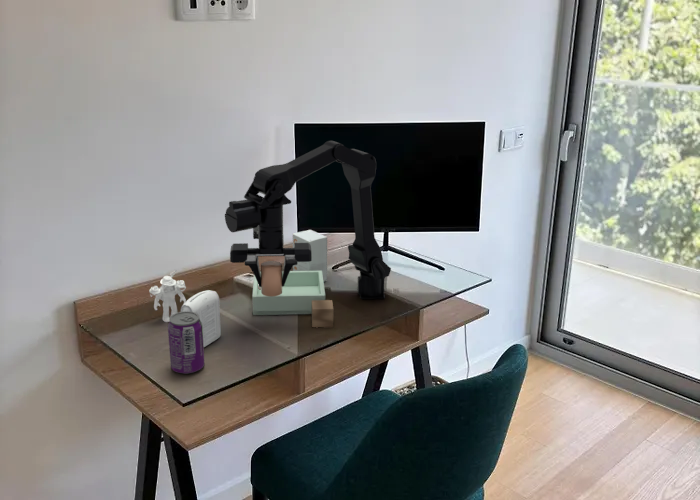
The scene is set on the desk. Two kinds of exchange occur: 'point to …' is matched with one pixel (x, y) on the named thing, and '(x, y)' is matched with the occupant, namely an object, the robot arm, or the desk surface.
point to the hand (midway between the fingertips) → (271, 286)
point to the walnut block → (322, 313)
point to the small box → (313, 252)
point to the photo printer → (206, 313)
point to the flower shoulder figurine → (168, 295)
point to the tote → (291, 295)
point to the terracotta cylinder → (271, 278)
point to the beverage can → (186, 342)
